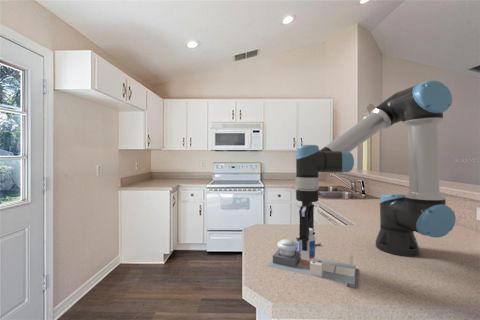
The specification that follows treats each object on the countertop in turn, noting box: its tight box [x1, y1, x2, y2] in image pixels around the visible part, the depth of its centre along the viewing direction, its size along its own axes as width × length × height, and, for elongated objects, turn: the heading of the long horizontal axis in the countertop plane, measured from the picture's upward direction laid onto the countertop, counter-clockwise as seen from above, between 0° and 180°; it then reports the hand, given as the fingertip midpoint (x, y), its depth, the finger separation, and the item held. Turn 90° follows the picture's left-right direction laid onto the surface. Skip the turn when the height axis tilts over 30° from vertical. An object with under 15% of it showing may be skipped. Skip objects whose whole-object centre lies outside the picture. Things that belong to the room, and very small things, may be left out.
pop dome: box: [276, 238, 299, 258], centre depth 85 cm, size 7×7×5 cm
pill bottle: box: [298, 228, 316, 260], centre depth 81 cm, size 6×5×10 cm
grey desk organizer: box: [267, 249, 356, 289], centre depth 80 cm, size 27×14×5 cm, turn 63°
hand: (306, 256), depth 81 cm, fingers closed on pill bottle, 5 cm apart
